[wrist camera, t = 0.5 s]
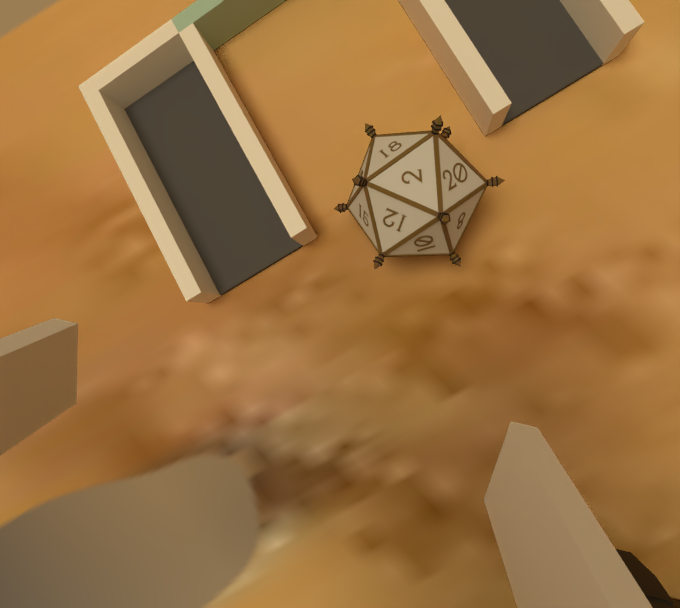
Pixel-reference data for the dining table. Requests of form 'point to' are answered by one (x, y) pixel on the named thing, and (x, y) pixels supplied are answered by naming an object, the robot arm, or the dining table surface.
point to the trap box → (198, 45)
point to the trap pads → (240, 178)
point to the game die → (415, 193)
